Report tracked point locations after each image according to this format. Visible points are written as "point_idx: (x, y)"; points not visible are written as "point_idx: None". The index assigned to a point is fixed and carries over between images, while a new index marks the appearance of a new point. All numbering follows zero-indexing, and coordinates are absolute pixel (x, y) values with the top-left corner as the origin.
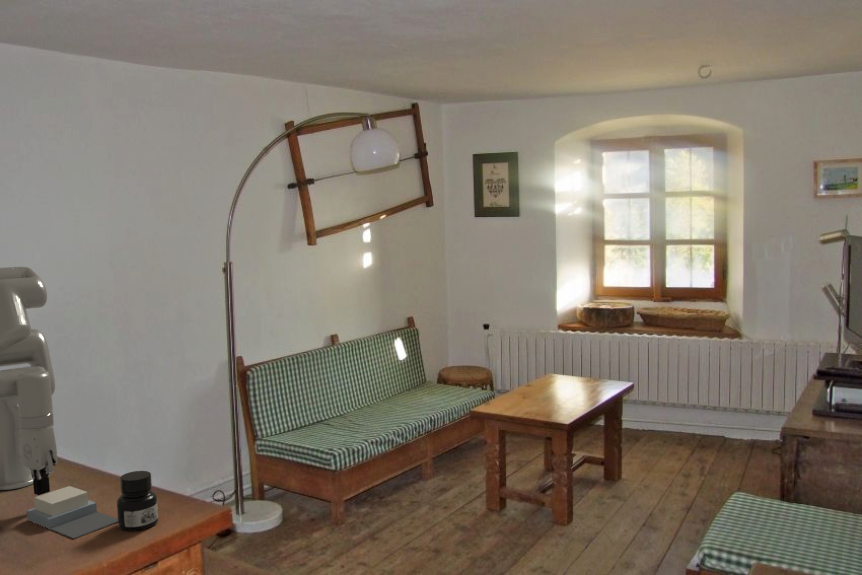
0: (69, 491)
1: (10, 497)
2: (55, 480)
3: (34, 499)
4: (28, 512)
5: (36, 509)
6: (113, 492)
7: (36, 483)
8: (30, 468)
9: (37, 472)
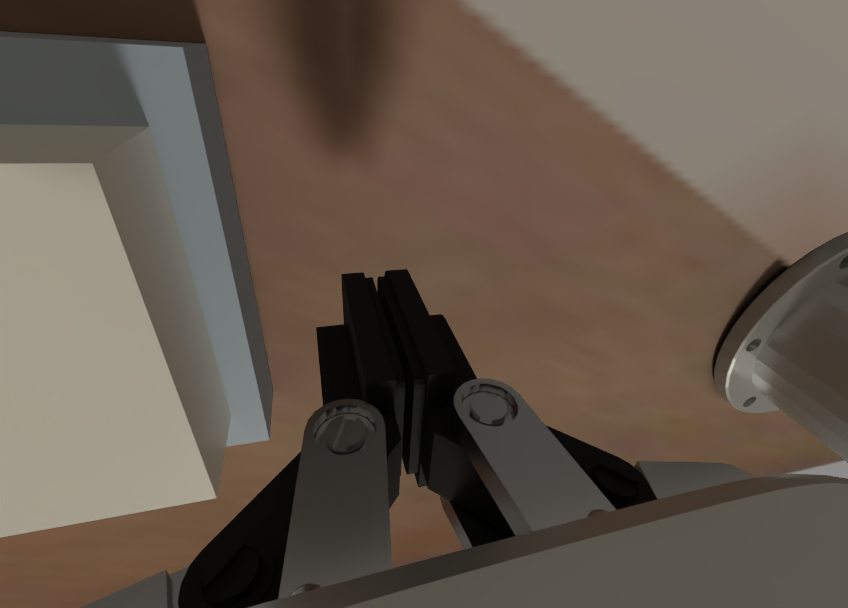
0: (18, 475)
1: (713, 227)
2: (646, 426)
3: (101, 156)
4: (143, 44)
5: (112, 127)
6: None
7: (357, 350)
8: (598, 492)
9: (360, 509)
